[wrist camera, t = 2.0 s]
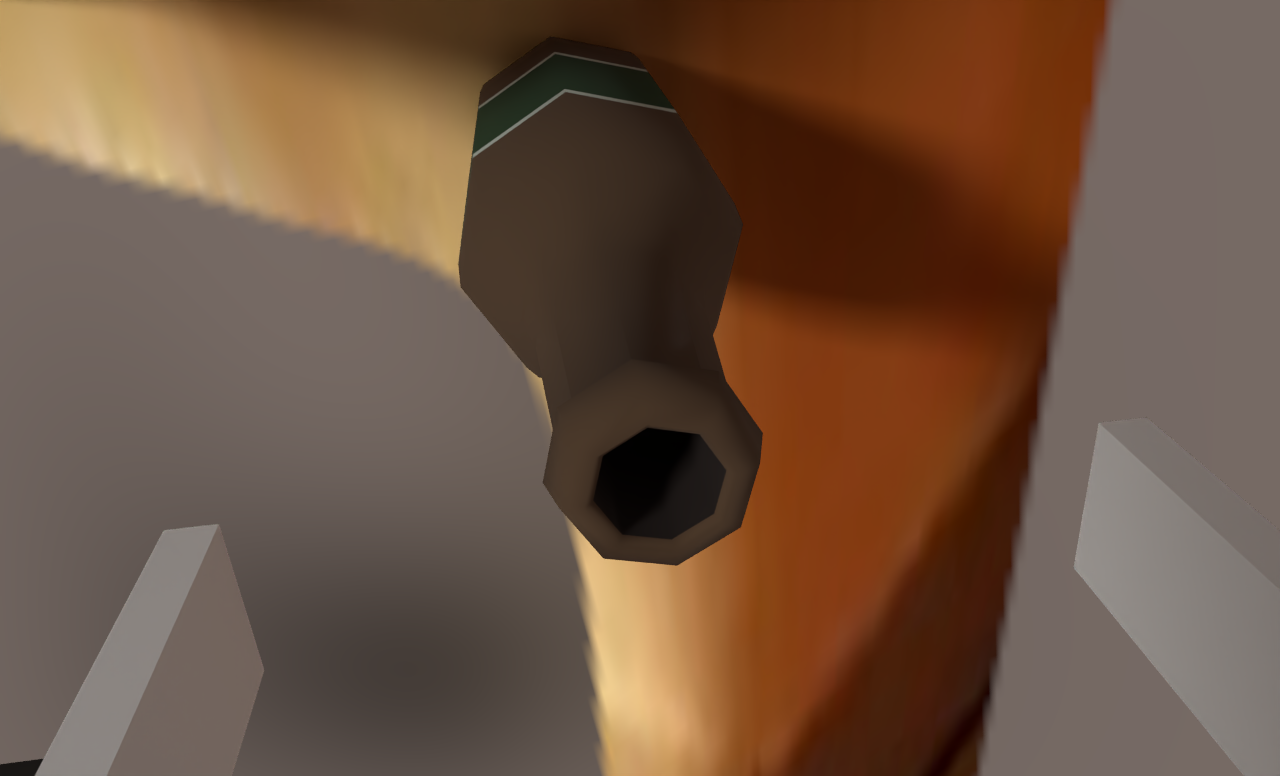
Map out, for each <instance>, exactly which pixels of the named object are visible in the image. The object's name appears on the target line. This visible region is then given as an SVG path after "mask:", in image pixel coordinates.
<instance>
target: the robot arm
mask: <svg viewBox="0 0 1280 776" xmlns="http://www.w3.org/2000/svg"><path fill="white" fill-rule="evenodd" d="M1074 569H1075V570H1076V571H1077V572H1078V573H1079V575H1080V576H1081V577H1082V578H1083V580H1084V581H1085V582H1086V583H1087V584H1088V586H1089V587H1090V588H1091V589H1092V591H1093V592H1094V593H1095V594H1096V595H1097V597H1098V598H1099V599H1100V600H1101V601H1102V603H1103V604H1104V605H1105V606H1106V608H1107V609H1108V610H1109V611H1110V612H1111V614H1112V615H1113V616H1114V617H1115V619H1116V620H1117V621H1118V622H1119V623H1120V625H1121V626H1122V627H1123V628H1124V630H1125V631H1126V632H1127V633H1128V635H1129V636H1130V637H1131V638H1132V639H1133V641H1134V642H1135V643H1136V644H1137V646H1138V647H1139V648H1140V649H1141V650H1142V652H1143V653H1144V654H1145V655H1146V657H1147V658H1148V659H1149V660H1150V661H1151V663H1152V664H1153V665H1154V666H1155V668H1156V669H1157V670H1158V671H1159V672H1160V674H1161V675H1162V676H1163V677H1164V679H1165V680H1166V681H1167V682H1168V683H1169V685H1170V686H1171V687H1172V688H1173V690H1174V691H1175V692H1176V693H1177V694H1178V696H1179V697H1180V698H1181V699H1182V701H1183V702H1184V703H1185V704H1186V705H1187V707H1188V708H1189V709H1190V710H1191V711H1192V712H1193V714H1194V715H1195V716H1196V718H1197V719H1198V720H1199V721H1200V722H1201V724H1202V725H1203V726H1204V727H1205V728H1206V730H1207V731H1208V732H1209V734H1210V735H1211V736H1212V737H1213V738H1214V740H1215V741H1216V742H1217V743H1218V745H1219V746H1220V747H1221V748H1222V749H1223V751H1224V752H1225V753H1226V754H1227V756H1228V757H1229V758H1230V759H1231V760H1232V762H1233V763H1234V764H1235V765H1236V767H1237V768H1238V769H1239V770H1240V771H1241V773H1242V774H1243V775H1244V776H1280V530H1279V529H1278V528H1277V527H1276V526H1275V525H1273V524H1272V523H1271V522H1269V520H1268V519H1266V518H1265V517H1264V516H1263V515H1261V514H1260V513H1259V512H1258V511H1257V510H1256V509H1254V508H1253V507H1252V506H1251V505H1250V504H1248V503H1247V502H1246V501H1245V500H1244V499H1243V498H1241V497H1240V496H1239V495H1238V494H1237V493H1236V492H1234V491H1233V490H1232V489H1231V488H1230V487H1229V486H1227V485H1226V484H1225V483H1224V482H1223V481H1221V480H1220V479H1219V478H1218V477H1217V476H1216V475H1214V474H1213V473H1212V472H1211V471H1210V470H1208V469H1207V468H1206V467H1205V466H1204V465H1203V464H1201V463H1200V462H1199V461H1198V460H1197V459H1195V458H1194V457H1193V456H1192V455H1191V454H1190V453H1188V452H1187V451H1186V450H1185V449H1184V448H1182V447H1181V446H1180V445H1179V444H1177V442H1175V441H1174V440H1173V439H1172V438H1171V437H1170V436H1168V435H1167V434H1166V433H1165V432H1164V431H1162V430H1161V429H1160V428H1159V427H1158V426H1156V425H1155V424H1154V423H1153V422H1152V421H1151V420H1149V419H1148V418H1147V417H1145V418H1135V419H1127V420H1118V421H1109V422H1100V423H1099V425H1098V431H1097V437H1096V442H1095V448H1094V454H1093V459H1092V465H1091V472H1090V477H1089V483H1088V489H1087V494H1086V500H1085V506H1084V511H1083V517H1082V523H1081V529H1080V535H1079V540H1078V546H1077V552H1076V558H1075V563H1074ZM263 672H264V668H263V665H262V662H261V659H260V655H259V652H258V649H257V646H256V642H255V639H254V636H253V633H252V629H251V626H250V623H249V620H248V617H247V614H246V610H245V607H244V603H243V601H242V597H241V594H240V591H239V587H238V584H237V581H236V578H235V574H234V571H233V568H232V565H231V562H230V558H229V555H228V552H227V549H226V545H225V542H224V539H223V536H222V533H221V529H220V526H219V524H215V525H206V526H198V527H189V528H181V529H172V530H164V531H163V533H162V535H161V537H160V539H159V540H158V542H157V544H156V546H155V548H154V550H153V552H152V554H151V556H150V558H149V559H148V561H147V563H146V565H145V567H144V569H143V571H142V573H141V575H140V577H139V579H138V580H137V582H136V584H135V586H134V588H133V590H132V592H131V594H130V596H129V597H128V599H127V602H126V603H125V605H124V607H123V609H122V611H121V613H120V615H119V616H118V618H117V620H116V622H115V624H114V626H113V628H112V630H111V632H110V634H109V636H108V638H107V639H106V641H105V643H104V645H103V647H102V649H101V651H100V653H99V655H98V656H97V658H96V660H95V662H94V664H93V666H92V668H91V670H90V672H89V674H88V676H87V677H86V679H85V681H84V683H83V685H82V687H81V689H80V691H79V693H78V695H77V696H76V698H75V700H74V702H73V704H72V706H71V708H70V710H69V712H68V713H67V715H66V718H65V719H64V721H63V723H62V725H61V727H60V729H59V731H58V732H57V734H56V736H55V738H54V740H53V742H52V744H51V746H50V748H49V750H48V752H47V754H46V755H45V757H44V759H38V760H31V761H23V762H15V763H8V764H1V765H0V776H232V773H233V770H234V766H235V763H236V760H237V757H238V753H239V750H240V747H241V744H242V740H243V737H244V734H245V731H246V727H247V724H248V721H249V718H250V714H251V711H252V708H253V705H254V701H255V698H256V695H257V692H258V688H259V685H260V682H261V678H262V675H263Z"/></svg>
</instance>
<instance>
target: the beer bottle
mask: <svg viewBox="0 0 1280 776" xmlns="http://www.w3.org/2000/svg"><path fill="white" fill-rule="evenodd" d="M742 226H743V223H742V221H741V218H740V216H739V214H738V211H737V209H736V206H735V204H734V202H733V200H732V199H731V197H730V196H729V194H728V192H727V191H726V189H725V188H724V186H723V184H722V183H721V181H720V180H719V178H718V177H717V175H716V173H715V172H714V170H713V169H712V167H711V166H710V164H709V162H708V161H707V159H706V158H705V156H704V154H703V153H702V151H701V150H700V148H699V147H698V145H697V143H696V142H695V140H694V139H693V137H692V135H691V134H690V132H689V131H688V129H687V128H686V126H685V124H684V123H683V121H682V120H681V118H680V117H679V115H678V113H677V112H676V111H675V109H674V108H673V106H672V105H671V103H670V102H669V101H668V99H667V98H666V96H665V95H664V94H663V92H662V91H661V89H660V88H659V87H658V85H657V84H656V82H655V81H654V80H653V78H652V77H651V75H650V74H649V73H648V71H647V70H646V68H645V67H644V65H643V64H642V63H641V61H640V60H639V58H638V57H636V56H635V55H634V54H632V53H631V52H626V51H621V50H616V49H611V48H606V47H601V46H596V45H591V44H586V43H581V42H576V41H571V40H566V39H561V38H556V37H551V36H550V37H549V38H547V39H546V40H545V41H543V42H542V43H540V44H539V45H538V46H536V47H535V48H534V49H532V50H531V51H529V52H528V53H527V54H525V55H524V56H523V57H521V58H520V59H518V60H517V61H516V62H514V63H513V64H511V65H510V66H509V67H507V68H506V69H505V70H503V71H502V72H500V73H499V74H498V75H496V76H495V77H493V78H492V79H491V80H489V81H488V82H487V83H485V84H484V85H483V88H482V90H481V92H480V98H479V106H478V113H477V121H476V128H475V136H474V143H473V151H472V158H471V166H470V173H469V181H468V189H467V198H466V206H465V214H464V222H463V231H462V239H461V247H460V255H459V264H458V265H459V275H460V284H461V288H462V289H463V290H464V292H465V293H466V294H467V295H468V297H469V298H470V299H471V300H472V301H473V303H474V304H475V305H476V306H477V307H478V309H479V310H480V311H481V312H482V313H483V314H484V316H485V317H486V318H487V320H488V321H489V322H490V323H491V324H492V326H493V327H494V328H495V329H496V331H497V332H498V333H499V334H500V335H501V337H502V338H503V339H504V340H505V342H506V343H507V344H508V345H509V346H510V348H511V349H512V350H513V351H514V352H515V354H516V355H517V356H518V357H519V359H520V360H521V361H522V362H523V363H524V365H525V366H526V367H527V368H528V369H529V370H531V371H532V372H533V373H534V374H536V375H537V376H538V377H541V378H542V380H543V385H544V390H545V394H546V399H547V404H548V409H549V413H550V418H551V423H552V427H553V432H552V437H551V443H550V448H549V453H548V458H547V464H546V469H545V474H544V479H543V484H544V485H545V487H546V488H547V490H548V491H549V493H550V495H551V496H552V498H553V499H554V501H555V502H556V504H557V505H558V507H559V508H560V509H561V511H562V512H563V513H564V514H565V515H566V516H567V517H568V519H569V520H570V521H571V522H572V523H573V524H574V525H575V526H576V528H577V529H578V530H579V531H580V532H581V533H582V534H583V536H584V537H585V538H586V539H587V540H588V541H589V542H590V544H591V545H592V546H593V547H594V548H595V549H596V550H597V552H598V553H599V554H600V555H601V556H602V557H603V558H604V559H615V560H625V561H635V562H646V563H656V564H666V565H679V564H680V563H682V562H684V561H685V560H687V559H689V558H690V557H692V556H694V555H695V554H697V553H699V552H700V551H702V550H704V549H705V548H707V547H709V546H710V545H712V544H714V543H715V542H717V541H719V540H720V539H722V538H724V537H725V536H727V535H729V534H730V533H732V532H734V531H735V530H737V529H739V528H740V527H741V525H742V521H743V518H744V515H745V511H746V508H747V505H748V501H749V498H750V494H751V491H752V488H753V484H754V481H755V478H756V474H757V471H758V468H759V464H760V457H761V446H762V435H763V433H762V431H761V430H760V429H759V427H758V426H757V424H756V423H755V422H754V420H753V419H752V417H751V416H750V415H749V413H748V412H747V410H746V409H745V407H744V406H743V405H742V403H741V402H740V400H739V399H738V398H737V396H736V395H735V393H734V392H733V390H732V389H731V388H730V386H729V385H728V383H727V382H726V380H725V376H724V373H723V369H722V366H721V362H720V359H719V355H718V352H717V348H716V345H715V342H714V338H713V333H714V331H715V329H716V326H717V323H718V319H719V315H720V311H721V308H722V304H723V300H724V296H725V292H726V288H727V284H728V281H729V277H730V273H731V269H732V265H733V261H734V257H735V253H736V250H737V246H738V242H739V238H740V234H741V230H742Z"/></svg>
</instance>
